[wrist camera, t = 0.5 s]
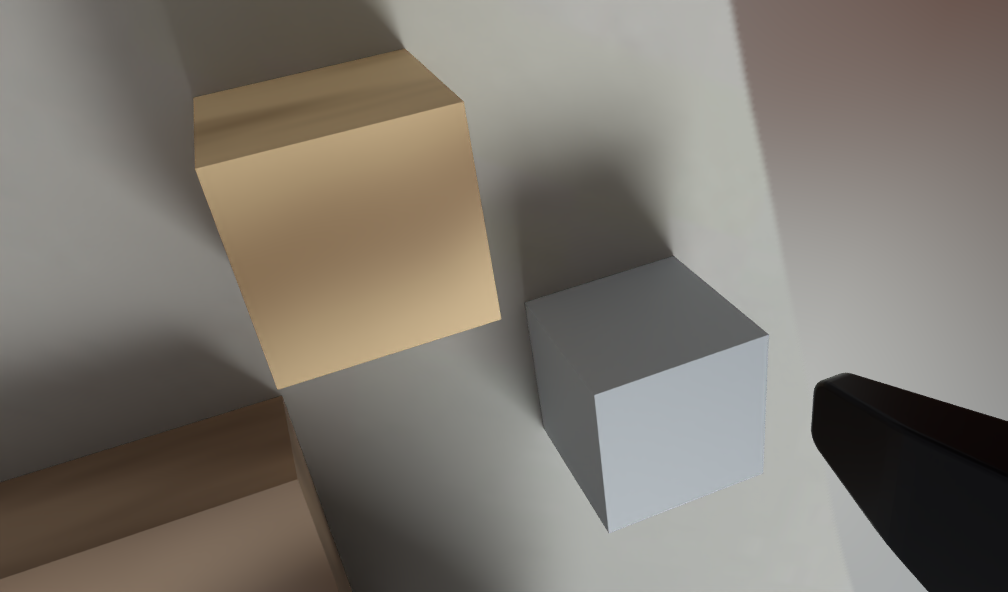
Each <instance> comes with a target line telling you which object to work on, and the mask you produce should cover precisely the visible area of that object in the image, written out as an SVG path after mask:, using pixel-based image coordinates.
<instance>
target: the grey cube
mask: <svg viewBox="0 0 1008 592" xmlns="http://www.w3.org/2000/svg"><path fill="white" fill-rule="evenodd" d="M525 308H526V315H527V321H528V328H529V334H530V341H531V348H532V354H533V361H534V367H535V374H536V380H537V387H538V393H539V400H540V407H541V413H542V420H543V426H544V430H545V431H546V433H547V434H548V436H549V438H550V439H551V441H552V442H553V444H554V446H555V447H556V449H557V451H558V452H559V454H560V455H561V457H562V459H563V460H564V462H565V463H566V465H567V467H568V468H569V470H570V471H571V473H572V475H573V476H574V478H575V480H576V481H577V483H578V484H579V486H580V488H581V489H582V491H583V492H584V494H585V496H586V497H587V499H588V500H589V502H590V504H591V505H592V507H593V509H594V510H595V512H596V513H597V515H598V517H599V518H600V520H601V521H602V523H603V525H604V526H605V528H606V529H607V531H608V533H611V532H614V531H616V530H619V529H621V528H624V527H626V526H629V525H632V524H634V523H637V522H639V521H642V520H644V519H647V518H650V517H652V516H655V515H657V514H660V513H662V512H665V511H668V510H670V509H673V508H675V507H678V506H680V505H683V504H686V503H688V502H691V501H693V500H696V499H698V498H701V497H704V496H706V495H709V494H711V493H714V492H716V491H719V490H722V489H724V488H727V487H729V486H732V485H734V484H737V483H740V482H742V481H745V480H747V479H750V478H752V477H755V476H758V475H760V474H763V464H764V440H765V415H766V391H767V367H768V342H769V334H767V333H766V332H765V331H764V330H763V329H761V328H760V327H759V326H758V325H757V324H755V323H754V322H753V321H752V320H750V319H749V318H748V317H747V316H746V315H744V314H743V313H742V312H741V311H740V310H738V309H737V308H736V307H735V306H734V305H732V304H731V303H730V302H729V301H727V300H726V299H725V298H724V297H723V296H721V295H720V294H719V293H718V292H717V291H715V290H714V289H713V288H712V287H711V286H709V285H708V284H707V283H706V282H705V281H703V280H702V279H701V278H700V277H698V276H697V275H696V274H695V273H694V272H692V271H691V270H690V269H689V268H688V267H686V266H685V265H684V264H683V263H682V262H680V261H679V260H678V259H677V258H675V257H674V256H672V257H668V258H665V259H662V260H659V261H656V262H652V263H649V264H646V265H643V266H640V267H636V268H633V269H630V270H627V271H624V272H621V273H617V274H614V275H611V276H608V277H605V278H601V279H598V280H595V281H592V282H589V283H585V284H582V285H579V286H576V287H573V288H569V289H566V290H563V291H560V292H557V293H553V294H550V295H547V296H544V297H541V298H537V299H534V300H531V301H528V302H525Z"/></svg>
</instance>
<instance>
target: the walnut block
mask: <svg viewBox="0 0 1008 592" xmlns="http://www.w3.org/2000/svg"><path fill="white" fill-rule="evenodd" d="M0 592H352V590H351V587H350V584H349V581H348V579H347V576H346V573H345V570H344V567H343V565H342V562H341V559H340V556H339V553H338V551H337V548H336V545H335V542H334V539H333V537H332V534H331V531H330V528H329V525H328V523H327V520H326V517H325V514H324V511H323V509H322V506H321V503H320V500H319V497H318V495H317V492H316V489H315V486H314V483H313V481H312V478H311V475H310V472H309V469H308V467H307V464H306V461H305V458H304V455H303V453H302V450H301V447H300V444H299V442H298V439H297V436H296V433H295V430H294V428H293V425H292V422H291V419H290V416H289V414H288V411H287V408H286V405H285V402H284V400H283V397H282V396H279V397H275V398H272V399H269V400H266V401H262V402H259V403H256V404H253V405H249V406H246V407H243V408H240V409H237V410H233V411H230V412H227V413H224V414H220V415H217V416H214V417H211V418H207V419H204V420H201V421H198V422H194V423H191V424H188V425H185V426H181V427H178V428H175V429H172V430H169V431H165V432H162V433H159V434H156V435H152V436H149V437H146V438H143V439H139V440H136V441H133V442H130V443H126V444H123V445H120V446H117V447H113V448H110V449H107V450H104V451H101V452H97V453H94V454H91V455H88V456H84V457H81V458H78V459H75V460H71V461H68V462H65V463H62V464H58V465H55V466H52V467H49V468H45V469H42V470H39V471H36V472H32V473H29V474H26V475H23V476H20V477H16V478H13V479H10V480H7V481H3V482H0Z"/></svg>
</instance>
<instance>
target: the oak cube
mask: <svg viewBox="0 0 1008 592" xmlns="http://www.w3.org/2000/svg"><path fill="white" fill-rule="evenodd" d="M193 102H194V147H195V170H196V173H197V176H198V178H199V181H200V184H201V186H202V189H203V192H204V194H205V197H206V200H207V202H208V205H209V208H210V210H211V213H212V216H213V218H214V221H215V224H216V226H217V229H218V232H219V234H220V237H221V240H222V242H223V245H224V248H225V250H226V253H227V256H228V258H229V261H230V264H231V267H232V269H233V272H234V275H235V277H236V280H237V283H238V285H239V288H240V291H241V293H242V296H243V299H244V301H245V304H246V307H247V309H248V312H249V315H250V317H251V320H252V323H253V325H254V328H255V331H256V333H257V336H258V339H259V341H260V344H261V347H262V349H263V352H264V355H265V357H266V360H267V363H268V365H269V368H270V371H271V373H272V376H273V379H274V382H275V384H276V387H277V390H279V389H282V388H285V387H288V386H292V385H295V384H298V383H301V382H304V381H307V380H311V379H314V378H317V377H320V376H323V375H326V374H330V373H333V372H336V371H339V370H342V369H345V368H349V367H352V366H355V365H358V364H361V363H365V362H368V361H371V360H374V359H377V358H380V357H384V356H387V355H390V354H393V353H396V352H399V351H403V350H406V349H409V348H412V347H415V346H418V345H422V344H425V343H428V342H431V341H434V340H437V339H441V338H444V337H447V336H450V335H453V334H456V333H460V332H463V331H466V330H469V329H472V328H475V327H479V326H482V325H485V324H488V323H491V322H494V321H498V320H501V315H500V309H499V303H498V297H497V292H496V286H495V280H494V274H493V268H492V263H491V257H490V251H489V245H488V240H487V234H486V228H485V222H484V216H483V211H482V205H481V199H480V193H479V188H478V182H477V176H476V170H475V165H474V159H473V153H472V147H471V141H470V136H469V130H468V124H467V118H466V113H465V107H464V101H462V100H461V99H460V98H459V97H458V96H457V95H456V94H455V93H454V92H452V91H451V90H450V89H449V88H448V87H447V86H446V85H445V84H444V83H443V82H441V81H440V80H439V79H438V78H437V77H436V76H435V75H434V74H433V73H431V72H430V71H429V70H428V69H427V68H426V67H425V66H424V65H423V64H421V63H420V62H419V61H418V60H417V59H416V58H415V57H414V56H413V55H412V54H410V53H409V52H408V51H407V50H406V49H401V50H396V51H392V52H388V53H384V54H379V55H375V56H371V57H366V58H362V59H358V60H353V61H349V62H345V63H341V64H336V65H332V66H328V67H323V68H319V69H315V70H310V71H306V72H302V73H297V74H293V75H289V76H285V77H280V78H276V79H272V80H267V81H263V82H259V83H254V84H250V85H246V86H242V87H237V88H233V89H229V90H224V91H220V92H216V93H211V94H207V95H203V96H198V97H194V98H193Z"/></svg>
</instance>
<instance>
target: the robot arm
mask: <svg viewBox="0 0 1008 592" xmlns="http://www.w3.org/2000/svg"><path fill="white" fill-rule="evenodd" d="M811 433H812V438H813V441H814V443H815V445H816V447H817V449H818V450H819V452H820V453H821V454H822V456H823V457H824V459H825V460H826V461H827V463H828V464H829V466H830V467H831V468H832V470H833V471H834V472H835V474H836V475H837V477H838V478H839V479H840V481H841V482H842V483H843V485H844V486H845V488H846V489H847V490H848V492H849V493H850V495H851V496H852V497H853V499H854V500H855V502H856V503H857V504H858V506H859V507H860V509H861V510H862V511H863V513H864V514H865V516H866V517H867V518H868V520H869V521H870V522H871V524H872V525H873V527H874V528H875V529H876V531H877V532H878V533H879V535H880V536H881V537H882V538H883V540H884V541H885V542H886V544H887V545H888V546H889V547H890V548H891V550H892V551H893V552H894V553H895V554H896V555H897V557H898V558H899V559H900V560H901V561H902V562H903V564H904V565H905V566H906V567H907V568H908V569H909V570H910V572H911V573H912V574H913V575H914V576H915V577H916V578H917V579H918V581H919V582H920V583H921V584H922V585H923V586H924V587H925V588H926V590H927V591H928V592H1008V421H1005V420H1002V419H999V418H996V417H992V416H989V415H986V414H982V413H979V412H976V411H973V410H969V409H966V408H963V407H959V406H956V405H953V404H950V403H946V402H943V401H939V400H936V399H933V398H930V397H926V396H923V395H920V394H917V393H913V392H910V391H907V390H903V389H900V388H897V387H894V386H891V385H887V384H884V383H881V382H877V381H874V380H871V379H868V378H864V377H861V376H858V375H855V374H851V373H841V374H838V375H835V376H833V377H830V378H827V379H825V380H822V381H820V382H818V383H817V385H816V386H815V388H814V395H813V409H812V423H811Z"/></svg>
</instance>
